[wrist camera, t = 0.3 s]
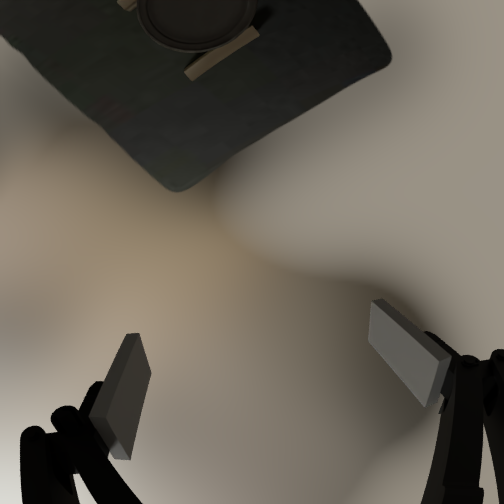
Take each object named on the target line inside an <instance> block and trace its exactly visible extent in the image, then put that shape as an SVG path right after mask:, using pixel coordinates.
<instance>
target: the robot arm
mask: <svg viewBox="0 0 504 504" xmlns="http://www.w3.org/2000/svg"><path fill="white" fill-rule="evenodd" d="M368 341H369V343H370V344H371V345H372V346H373V347H374V348H375V350H376V351H377V352H378V353H379V354H380V355H381V357H382V358H383V359H384V360H385V361H386V362H387V363H388V365H389V366H390V367H391V368H392V369H393V371H394V372H395V373H396V374H397V375H398V376H399V378H400V379H401V380H402V381H403V382H404V384H405V385H406V386H407V387H408V388H409V389H410V391H411V392H412V393H413V394H414V395H415V397H416V398H417V399H418V400H419V401H420V403H421V404H422V405H423V406H424V407H427V406H430V405H432V404H434V403H437V401H438V398H439V395H440V393H441V394H442V395H443V396H444V397H445V398H444V400H443V403H442V406H441V408H440V411H439V414H441V418H440V424H439V431H438V436H437V441H436V446H435V452H434V456H433V460H432V465H431V469H430V474H429V477H428V481H427V484H426V488H425V491H424V495H423V498H422V501H421V504H483V497H484V490H483V488H480V487H479V479H480V470H481V460H482V447H483V423H484V427H485V430H486V434H487V438H488V443H489V447H490V451H491V455H492V461H493V466H494V471H495V477H496V483H497V489H498V497H499V504H504V349H497V350H494V351H493V352H492V354H491V357H490V359H489V360H483V361H480V360H479V359H478V358H476V357H474V356H471V355H463V356H460V355H459V354H458V353H457V352H456V351H455V350H453V349H452V348H451V347H450V346H448V345H447V344H445V342H444V341H443V340H441V339H440V338H439V337H438V336H436V335H435V334H433V333H431V332H428V331H425V332H423V331H421V330H420V329H419V328H418V327H417V326H415V325H414V324H413V323H412V322H411V321H409V320H408V319H407V318H406V317H404V316H403V315H402V314H401V313H400V312H398V311H397V310H396V309H395V308H394V307H392V306H391V305H390V304H389V303H387V302H386V301H385V300H384V299H378V300H374V301H371V314H370V326H369V336H368ZM150 377H151V370H150V367H149V364H148V361H147V357H146V354H145V351H144V348H143V344H142V341H141V337H140V334H139V333H131V334H126V336H125V338H124V340H123V342H122V344H121V346H120V348H119V350H118V352H117V354H116V357H115V359H114V361H113V363H112V365H111V367H110V369H109V372H108V374H107V376H106V378H105V380H104V381H96V382H95V383H94V384H93V385H92V386H91V387H90V388H89V390H88V392H87V394H86V396H85V398H84V400H83V402H82V404H81V406H80V408H79V410H77V409H76V408H75V407H73V406H62V407H60V408H58V409H56V410H55V411H54V412H53V413H52V415H51V422H52V424H53V426H54V427H55V429H56V430H57V432H54V433H45V431H44V430H43V429H42V428H41V427H39V426H31V427H28V428H26V429H25V430H24V431H23V432H22V434H21V437H20V475H21V492H22V502H23V504H80V503H79V499H78V495H77V491H76V487H75V482H74V478H73V474H80V476H81V478H82V480H83V481H84V483H85V485H86V487H87V488H88V490H89V492H90V493H91V495H92V496H93V498H94V500H95V501H96V503H97V504H142V503H141V501H140V500H139V499H138V498H137V497H136V495H135V494H134V493H133V492H132V490H131V489H130V488H129V487H128V486H127V484H126V483H125V482H124V480H123V479H122V478H121V476H120V475H119V474H118V472H117V471H116V470H115V468H114V467H113V466H112V464H111V462H110V461H109V460H108V454H109V451H110V453H111V454H112V456H113V457H114V459H121V460H131V455H132V450H133V445H134V441H135V437H136V432H137V428H138V424H139V419H140V416H141V411H142V407H143V403H144V399H145V395H146V392H147V388H148V384H149V380H150Z"/></svg>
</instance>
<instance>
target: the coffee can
mask: <svg viewBox="0 0 504 504" xmlns="http://www.w3.org/2000/svg"><path fill="white" fill-rule="evenodd" d="M257 3H258V0H137V15H138V19H139V22H140V24H141V26H142V28H143V30H144V31H145V32H146V34H147V35H148V36H149V37H150V38H151V39H152V40H154V41H155V42H156V43H158V44H160V45H161V46H163V47H166V48H168V49H171V50H174V51H178V52H186V53H199V52H206V51H210V50H214V49H217V48H220V47H222V46H224V45H227V44H228V43H230V42H232V41H233V40H235V39H236V38H237V37H238V36H240V35H241V34H242V33H243V32H244V31H245V30H246V29H247V27H248V26H249V25H250V23H251V21H252V19H253V17H254V15H255V12H256V9H257Z"/></svg>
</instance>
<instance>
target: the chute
mask: <svg viewBox="0 0 504 504" xmlns="http://www.w3.org/2000/svg"><path fill="white" fill-rule="evenodd" d="M117 3H118V4H120V5H121V6H122V7H123V8H124V9H125V10H128V11H132V10H133V9H134V8H136V7H137V0H118V1H117ZM258 36H260V35H259V33H258V32H257V31H256V29H255V28H254V27H253V26H248V27H247V29H246V30H245V31H244V32H243V33H242V34H241V35H240V36H238V37H237V38H236V39H235V40H233V41H232V42H230V43H228V44H227V45H224V46H222V47H220V48H217V49H214V50H210V51H208V52H206V53H205V54H203V55H202V56H201V57H199V58H198V59H197V60H195V61H194V62H192V63H191V64H190V65H188V66H187V67H186V68H185V69H184V73H185V74H186V75H187V76H188V77H189V78H190V80H191V81H193V80H194V79H196V78H197V77H198V76H200V75H201V74H202V73H204V72H205V71H207V70H208V69H209V68H211V67H212V66H214V65H215V64H216V63H218V62H219V61H221V60H222V59H224V58H225V57H227V56H228V55H230V54H231V53H233V52H234V51H236V50H237V49H239V48H240V47H242V46H244V45H245V44H247V43H248V42H250V41H252V40H253V39H255V38H257V37H258Z"/></svg>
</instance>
